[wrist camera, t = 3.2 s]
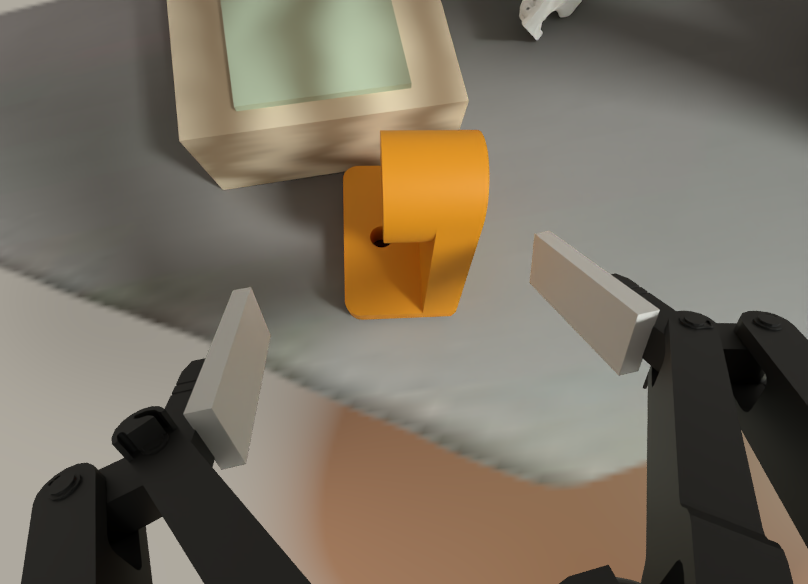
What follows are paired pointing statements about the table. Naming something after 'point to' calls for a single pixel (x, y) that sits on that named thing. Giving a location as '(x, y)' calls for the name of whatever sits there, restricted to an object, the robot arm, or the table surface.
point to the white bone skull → (543, 12)
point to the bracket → (414, 223)
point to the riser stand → (307, 82)
